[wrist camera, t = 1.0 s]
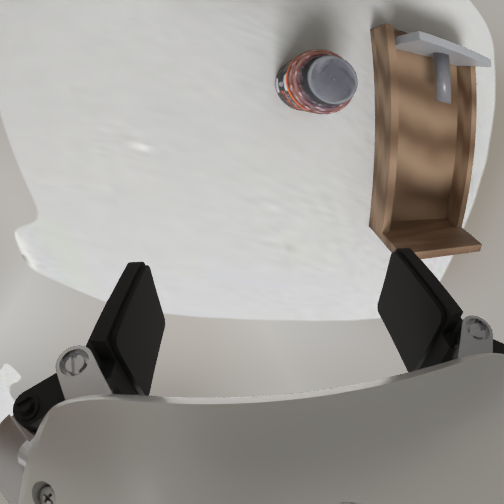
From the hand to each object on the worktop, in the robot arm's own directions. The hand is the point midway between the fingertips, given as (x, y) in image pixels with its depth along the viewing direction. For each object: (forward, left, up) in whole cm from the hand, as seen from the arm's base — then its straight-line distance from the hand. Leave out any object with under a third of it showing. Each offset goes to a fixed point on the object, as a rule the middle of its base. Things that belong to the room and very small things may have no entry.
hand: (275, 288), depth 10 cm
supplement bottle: (-8, +6, -24) cm, 26 cm away
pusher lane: (-3, +22, -24) cm, 33 cm away
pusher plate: (-11, +22, -22) cm, 33 cm away
